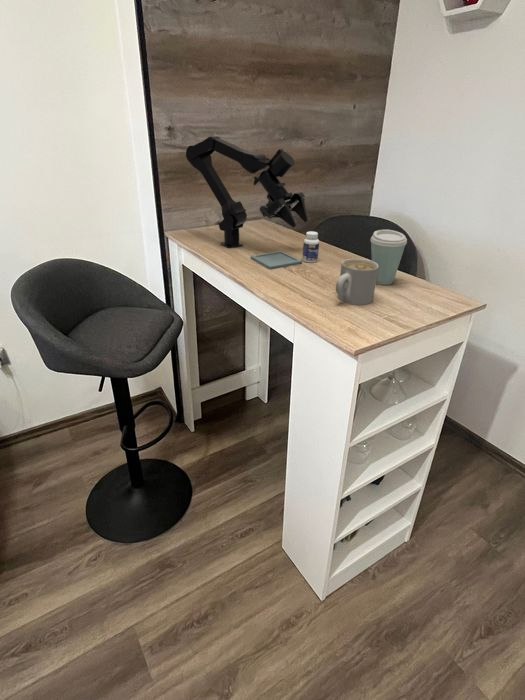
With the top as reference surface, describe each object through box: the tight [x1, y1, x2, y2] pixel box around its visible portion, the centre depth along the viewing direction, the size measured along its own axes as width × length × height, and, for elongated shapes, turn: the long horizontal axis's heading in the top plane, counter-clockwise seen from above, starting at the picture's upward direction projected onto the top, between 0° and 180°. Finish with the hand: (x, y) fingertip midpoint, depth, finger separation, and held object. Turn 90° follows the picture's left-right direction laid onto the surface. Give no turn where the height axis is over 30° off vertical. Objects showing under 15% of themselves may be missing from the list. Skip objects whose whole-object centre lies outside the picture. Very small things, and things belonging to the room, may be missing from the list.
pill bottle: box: [301, 231, 320, 264], centre depth 146 cm, size 5×5×10 cm
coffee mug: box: [335, 258, 379, 306], centre depth 117 cm, size 13×10×10 cm
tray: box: [250, 250, 303, 270], centre depth 147 cm, size 13×13×1 cm
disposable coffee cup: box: [369, 229, 408, 286], centre depth 129 cm, size 11×11×15 cm
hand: (300, 223), depth 145 cm, fingers open, 9 cm apart
